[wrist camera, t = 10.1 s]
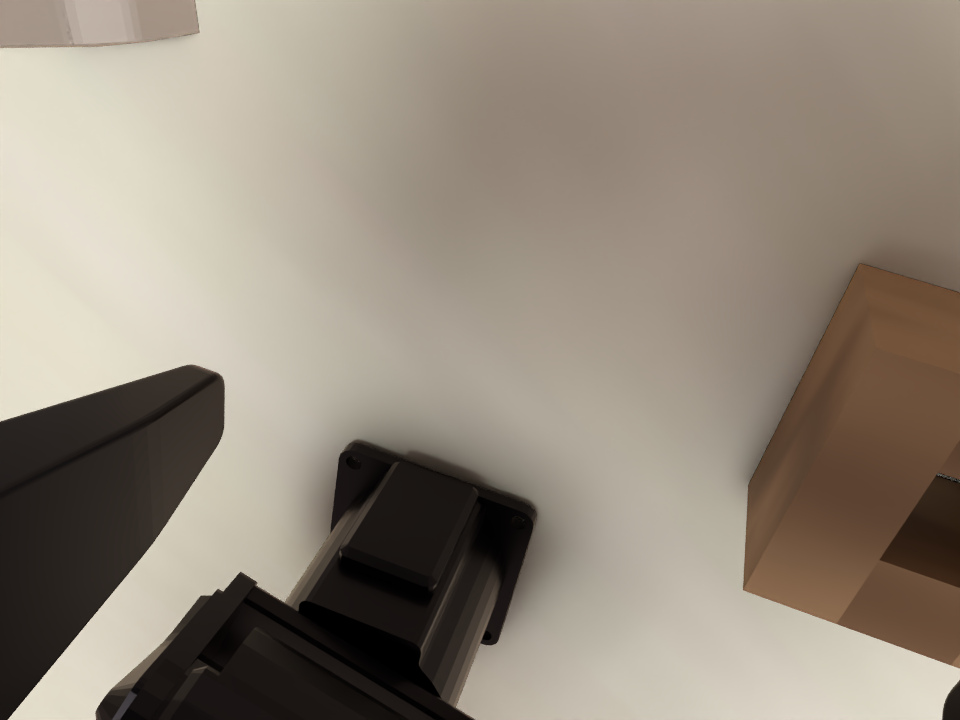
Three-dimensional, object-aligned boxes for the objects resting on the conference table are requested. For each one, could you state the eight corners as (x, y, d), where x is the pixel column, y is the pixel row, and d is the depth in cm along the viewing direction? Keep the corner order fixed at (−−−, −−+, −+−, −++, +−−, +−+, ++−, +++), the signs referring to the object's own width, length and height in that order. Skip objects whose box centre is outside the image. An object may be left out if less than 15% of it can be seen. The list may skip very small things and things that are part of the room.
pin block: (1010, 574, 22) (1051, 701, 18) (748, 485, 23) (743, 590, 19) (1185, 359, 18) (1277, 471, 15) (859, 263, 19) (876, 347, 16)
